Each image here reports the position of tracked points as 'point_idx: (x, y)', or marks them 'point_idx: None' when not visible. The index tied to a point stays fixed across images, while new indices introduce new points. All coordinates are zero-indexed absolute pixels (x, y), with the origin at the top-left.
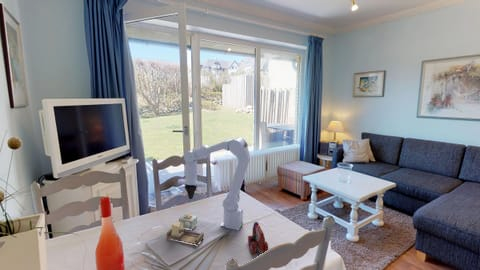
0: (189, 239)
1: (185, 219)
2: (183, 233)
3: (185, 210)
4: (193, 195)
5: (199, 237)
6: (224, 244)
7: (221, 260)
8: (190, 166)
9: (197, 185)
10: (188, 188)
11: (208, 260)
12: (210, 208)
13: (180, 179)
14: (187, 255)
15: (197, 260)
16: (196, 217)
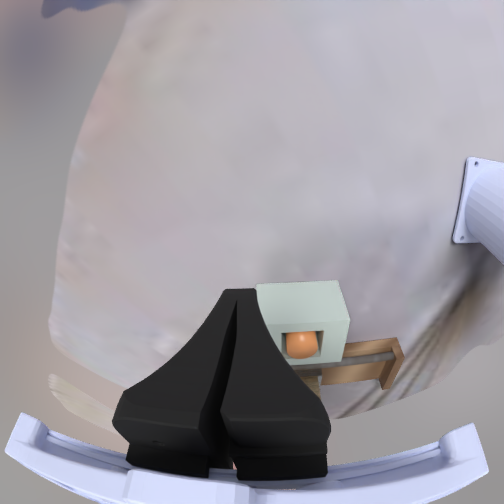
0: (352, 373)
1: (299, 362)
2: (321, 376)
3: (160, 153)
4: (258, 304)
5: (393, 378)
6: (463, 326)
7: (450, 370)
8: None
9: (361, 479)
10: (232, 461)
11: (421, 383)
12: (321, 39)
13: (15, 453)
14: (365, 395)
15: (394, 394)
16: (348, 319)
